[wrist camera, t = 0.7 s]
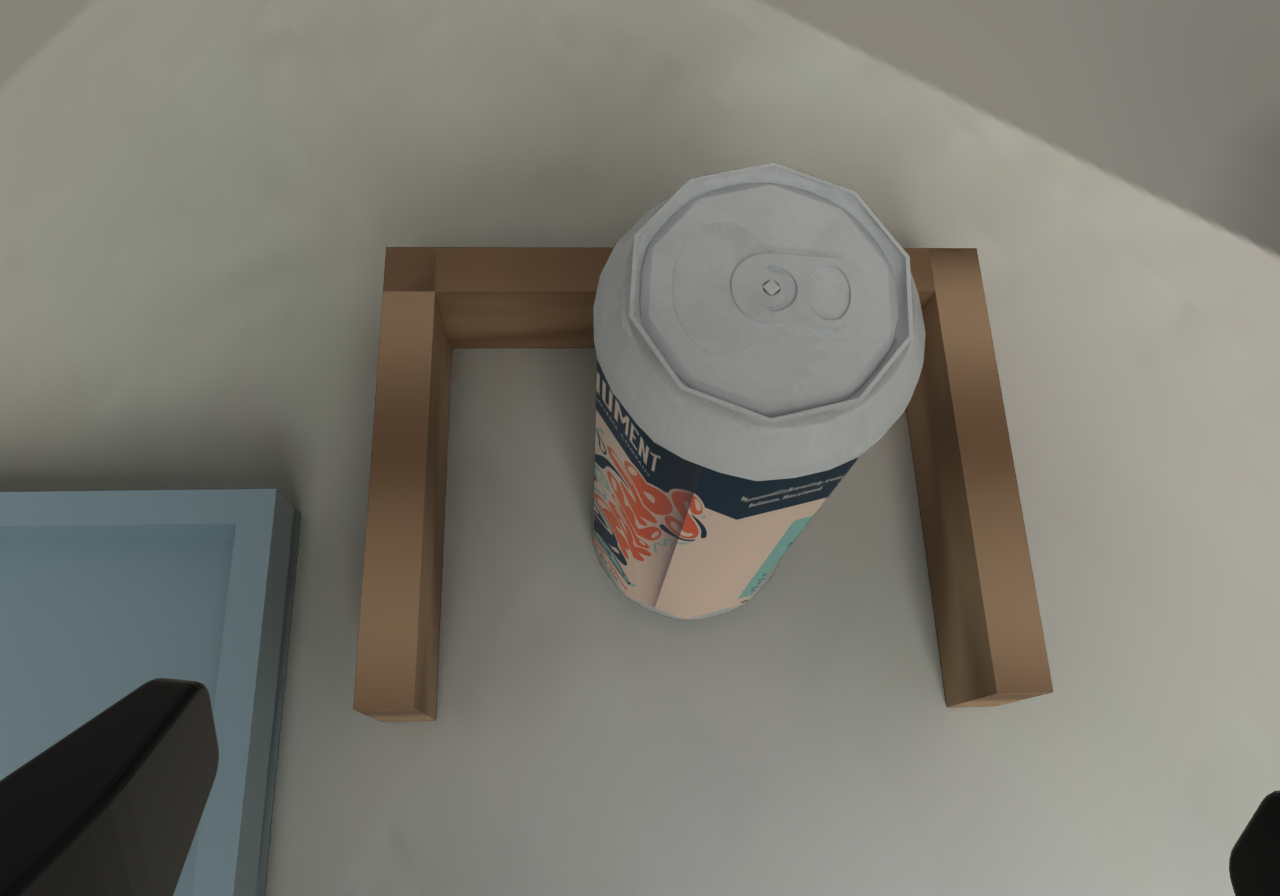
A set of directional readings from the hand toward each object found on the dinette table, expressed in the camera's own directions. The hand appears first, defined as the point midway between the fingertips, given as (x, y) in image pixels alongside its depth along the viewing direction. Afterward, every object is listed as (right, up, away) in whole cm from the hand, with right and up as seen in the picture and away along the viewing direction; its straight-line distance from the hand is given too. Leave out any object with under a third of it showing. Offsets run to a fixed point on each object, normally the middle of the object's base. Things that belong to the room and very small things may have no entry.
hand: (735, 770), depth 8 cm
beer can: (0, +1, +16) cm, 16 cm away
